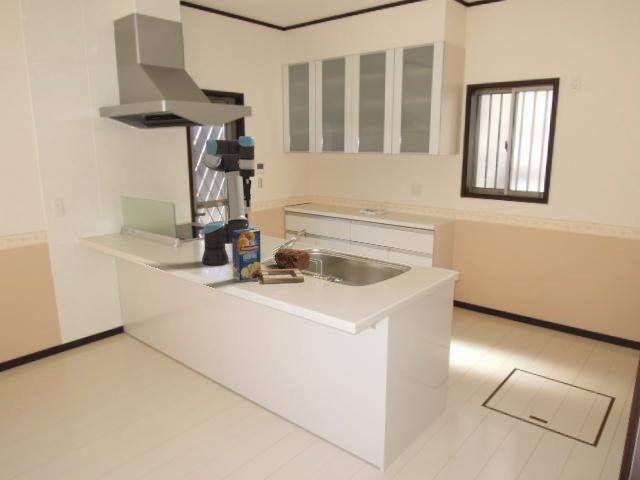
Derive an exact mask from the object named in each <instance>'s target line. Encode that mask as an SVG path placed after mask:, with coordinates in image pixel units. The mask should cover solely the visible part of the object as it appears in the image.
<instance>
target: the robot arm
mask: <svg viewBox="0 0 640 480" xmlns="http://www.w3.org/2000/svg"><path fill="white" fill-rule="evenodd" d="M255 144H256V143H255V137H254V136H249V135H248V136H245V135H242V136H241V135H240V136H239V137H238V139H207V140H206V141H205V154H204V155H203V159H202V161H203V164H204V166H205V167H207V168H208V169H209V170H211V171H214V172H218V173H221V172H222V173H224V176H225V177H226V178H227V188H228V189H227V191H228V201H229V204H228V205H229V219H228V220H227V223H226V222H225V220H224V221H223V220H218V221H212V222H208V223H206V224H205V225H204V226H203V240H204V242H203V243H204V246H203V247H204V252H203V254H202V258H201V264H202V265H205V266H221V265H222V266H223V265H227V264H229V263H230V261H229V260H230V258H229V255H228V253H227V250H226V245H232V231H234V230H243V229H252V223H251V222H249V219H248V218H247V217H246V215H247V214H252V207H251V206H252V205H251V203H252V202H251V199H252V198H251V197H252V196H251V195H252V194H251V189H252V179H251V178H253V177H255V176H256V175H255V174H256V171H255V167H256V160H255Z"/></svg>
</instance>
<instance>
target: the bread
mask: <svg viewBox="0 0 640 480" xmlns="http://www.w3.org/2000/svg"><path fill="white" fill-rule="evenodd" d="M275 253H276V254H275ZM275 253H274V262H275V261H276V263H277V265H278V266H277V265H276V266H277V267H282V268H283V269H299V270H300V271H302V270H305V269H308V268H309V266H310V259H311V258H310V254H309V253H308V252H307V251H305V250H302V249H296V248H295V249H293V248H281V249H278V250H277V251H276V252H275Z"/></svg>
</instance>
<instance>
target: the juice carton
mask: <svg viewBox="0 0 640 480" xmlns="http://www.w3.org/2000/svg"><path fill="white" fill-rule="evenodd" d="M231 245H232V246H231V247H232V252H231V253H232V254H231V255H232V277H233V278H234V279H235V278H236V279H238V280H240V281H242V280H247V279H253V278H258V279H259V278H262V275H261V270H262V267H261V266H262V263H261V262H262V261H261V255H262V254H261V230H260V229H255V228H252V227H251V229H243V230H234V231H232V244H231Z"/></svg>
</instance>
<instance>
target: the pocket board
mask: <svg viewBox="0 0 640 480" xmlns="http://www.w3.org/2000/svg"><path fill="white" fill-rule="evenodd" d="M270 274H271V276H272V274H273V275H289V274H290V275H292V274H293V275H294V276H286V277H282V276H281V277H270ZM261 279H262V281H263V282H262V283H263V284H265V285H266V284H281V283H282V284H283V283H305V277H304V275H303V274H302V272H301V270H299V269H289V268H282V269H277V268H276V269H275V268H274V269H261Z"/></svg>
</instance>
